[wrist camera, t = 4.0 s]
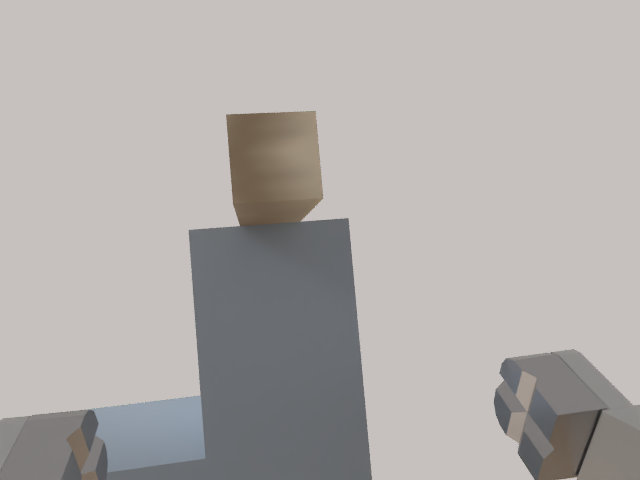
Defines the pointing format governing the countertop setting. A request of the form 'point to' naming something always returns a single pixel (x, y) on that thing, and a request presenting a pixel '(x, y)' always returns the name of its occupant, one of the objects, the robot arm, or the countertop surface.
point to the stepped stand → (259, 366)
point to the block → (274, 166)
